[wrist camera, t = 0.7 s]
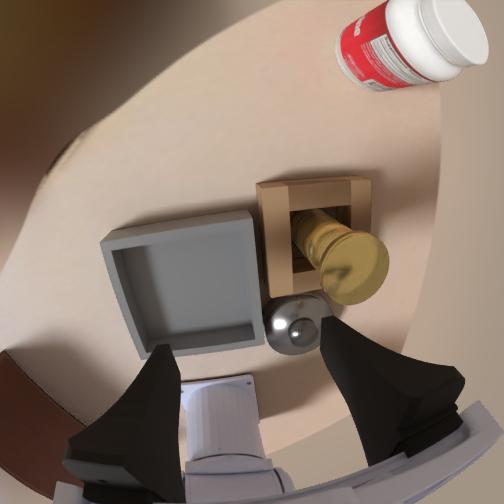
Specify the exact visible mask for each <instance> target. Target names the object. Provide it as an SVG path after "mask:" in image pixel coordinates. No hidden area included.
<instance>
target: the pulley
mask: <svg viewBox="0 0 504 504" xmlns="http://www.w3.org/2000/svg"><path fill="white" fill-rule="evenodd" d="M332 315H333V312H332V310H331V308H330V307H329V306H328V304H327V303H326V301H325V300H324V299H323V297H322V296H321V295H320V294H319V293H317V292H316V291H314V290H313V291H308V292H302V293H297V294H291V295H286V296H280V297H275V298H274V299H273V300H272V301H271V302H270V303H269V305H268V306H267V308H266V309H265V311H264V314H263V319H262V320H263V328H264V331H265V334H266V338H267V341H268V343H269V345H270V346H271V347H272V348H273V349H274V350H275V351H277V352H279V353H281V354H285V355H300V354H304V353H307V352H309V351H312V350H313V349H315V348H317V347H318V346H320V337H321V318H323V317H328V316H332Z"/></svg>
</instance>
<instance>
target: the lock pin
mask: <svg viewBox="0 0 504 504" xmlns="http://www.w3.org/2000/svg"><path fill="white" fill-rule="evenodd" d="M290 229H291V239H292V241H293V242H294V244H295V245H296V246H297V247H298V248H299V250H300V251H301V252H302V253H303V254H304V255H305V257H306V258H307V259H308V260H309V261H310V263H311V264H312V265H313V266H314V267H315V269H316V270H317V271H318V278H319V282H320V285H321V287H322V288H323V290H324V291H325V292H326V294H327V295H328V296H329V297H330V299H332V300H333V301H334V302H336V303H338V304H341V305H355V304H358V303H361V302H363V301H365V300H367V299H368V298H370V297H371V296H372V295H374V294H375V293H376V292H377V291H378V289H379V288H380V287H381V285H382V284H383V282H384V280H385V278H386V276H387V273H388V269H389V254H388V251H387V248H386V247H385V245H384V244H383V242H381V241H380V240H379V239H378V238H376V237H374V236H373V235H371V234H370V233H368V232H365V231H359V230H356V231H353V230H351V229H350V228H348V227H347V226H345V225H343V224H342V223H340V222H339V221H337V220H336V219H334V218H333V217H331V216H329V215H328V214H326V213H325V212H323V211H321V210H319V209H316V208H314V209H305V210H303V211H301V212H299V213H298V214H297V215H296V216H295V218H294V219H293V221H292V223H291V226H290Z"/></svg>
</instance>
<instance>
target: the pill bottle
mask: <svg viewBox="0 0 504 504" xmlns="http://www.w3.org/2000/svg"><path fill="white" fill-rule="evenodd" d="M488 51H489V50H488V41H487V37H486V34H485V31H484V29H483V27H482V25H481V23H480V21H479V19H478V17H477V16H476V14H475V13H474V11H473V10H472V9H471V7H470V6H469V5H468V4H467V3H466V2H465V1H464V0H387V1H386V2H384V3H382V4H381V5H379V6H378V7H376V8H374V9H373V10H371V11H370V12H368V13H366V14H365V15H363V16H362V17H360V18H359V19H357V20H356V21H354V22H353V23H351V24H350V25H349V26H347V27H346V28H344V29H343V30H342V31H341V32H340V33H339V35H338V37H337V39H336V42H335V54H336V58H337V61H338V63H339V65H340V67H341V69H342V71H343V72H344V73H345V75H346V76H347V77H348V78H349V79H350V80H351V81H352V82H354V83H355V84H357V85H358V86H360V87H362V88H364V89H367V90H370V91H386V90H392V89H396V88H402V87H408V86H413V85H420V84H427V83H434V82H443V81H448V80H451V79H453V78H455V77H456V76H458V75H459V74H460V72H461V71H462V69H463V67H470V66H476V65H482V64H484V63H485V62H486V60H487V58H488V53H489V52H488Z"/></svg>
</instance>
